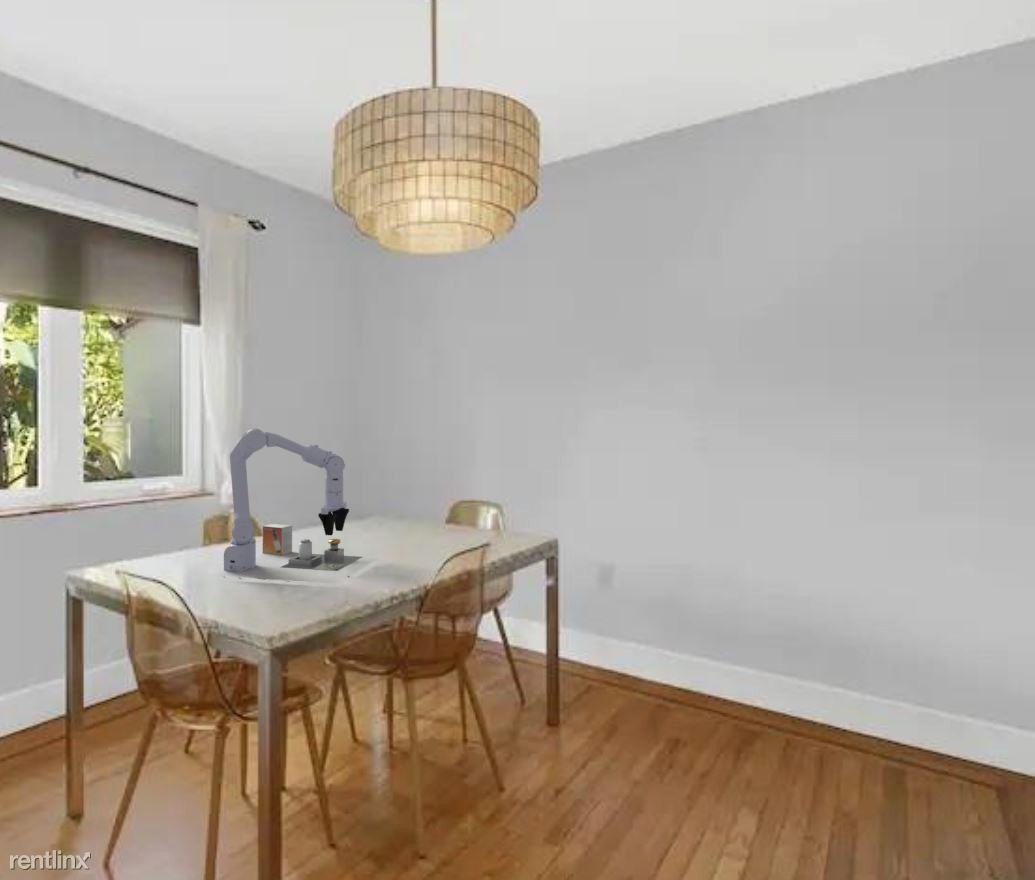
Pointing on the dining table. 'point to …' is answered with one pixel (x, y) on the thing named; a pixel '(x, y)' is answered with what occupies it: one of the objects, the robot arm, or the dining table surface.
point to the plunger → (333, 544)
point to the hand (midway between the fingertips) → (334, 532)
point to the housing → (323, 561)
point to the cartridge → (305, 549)
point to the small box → (277, 539)
